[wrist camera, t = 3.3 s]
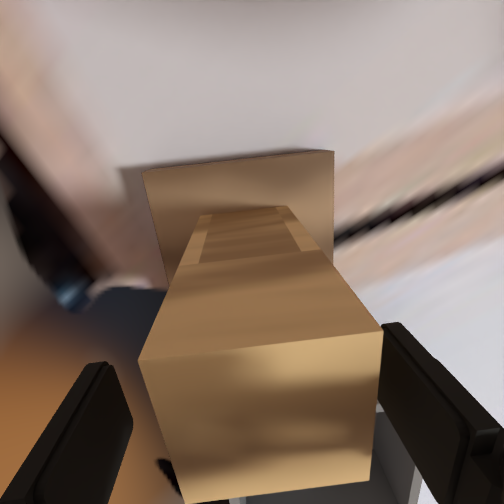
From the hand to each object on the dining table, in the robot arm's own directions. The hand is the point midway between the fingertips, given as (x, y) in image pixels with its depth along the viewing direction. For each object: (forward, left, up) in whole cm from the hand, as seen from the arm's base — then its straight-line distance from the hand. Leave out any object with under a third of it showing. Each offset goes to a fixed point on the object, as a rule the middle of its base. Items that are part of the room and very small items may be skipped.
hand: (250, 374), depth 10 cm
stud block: (0, 0, -13) cm, 13 cm away
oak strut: (0, 0, -11) cm, 11 cm away
